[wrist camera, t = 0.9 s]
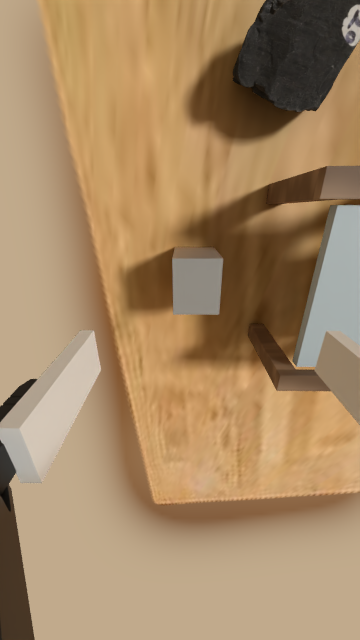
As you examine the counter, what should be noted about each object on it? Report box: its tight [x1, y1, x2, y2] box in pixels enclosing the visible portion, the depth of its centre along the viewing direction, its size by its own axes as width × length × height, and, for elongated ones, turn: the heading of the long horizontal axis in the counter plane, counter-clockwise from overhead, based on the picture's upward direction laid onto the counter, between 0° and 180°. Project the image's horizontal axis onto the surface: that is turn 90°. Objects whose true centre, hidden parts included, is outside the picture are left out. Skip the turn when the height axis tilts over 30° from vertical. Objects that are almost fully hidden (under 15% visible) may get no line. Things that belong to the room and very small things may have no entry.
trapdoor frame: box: [248, 166, 360, 391], centre depth 26 cm, size 20×15×12 cm
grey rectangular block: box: [172, 247, 223, 315], centre depth 28 cm, size 6×5×8 cm
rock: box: [233, 0, 360, 112], centre depth 20 cm, size 10×9×6 cm
